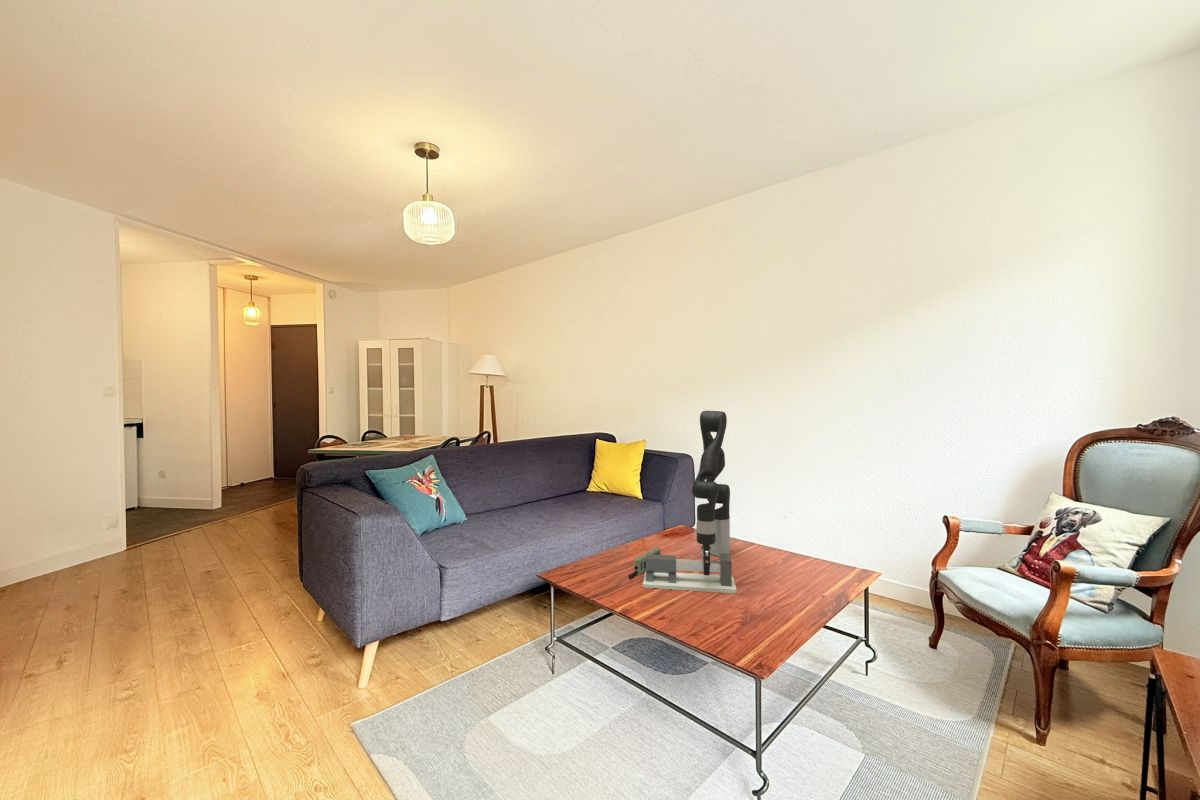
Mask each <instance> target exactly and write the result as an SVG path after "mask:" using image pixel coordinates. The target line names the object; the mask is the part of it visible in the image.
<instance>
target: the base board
mask: <svg viewBox="0 0 1200 800" xmlns="http://www.w3.org/2000/svg"><path fill="white" fill-rule="evenodd" d="M735 583H736V582H735V578H734V575H732V586H721V582H720V574H712V573H710V575H709V576H707V575H704V573H693V572H690V573H689V572H676V583H668V573H656V572H655V575H654V581H653V582H649V581H646V571H645V572H644V576H643V581H642V588H643V587H645V588H644V589H653V588H659V589H658V590H669V589H672V590H673V591H674V590H675V591H686V590H689V592H691V591H692V592H707V593H719V592H720V593H724V594H738V593H737V586H736V584H735Z"/></svg>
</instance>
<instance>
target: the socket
mask: <svg viewBox="0 0 1200 800" xmlns="http://www.w3.org/2000/svg"><path fill="white" fill-rule="evenodd" d="M719 561H720V563H721V573H719V575H720V582H721V586H732V576H733V575H732V571H733V570H732V569H733V568H732V566H733V565H732V557H731V553H730V554H721V553H720V556H719Z"/></svg>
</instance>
